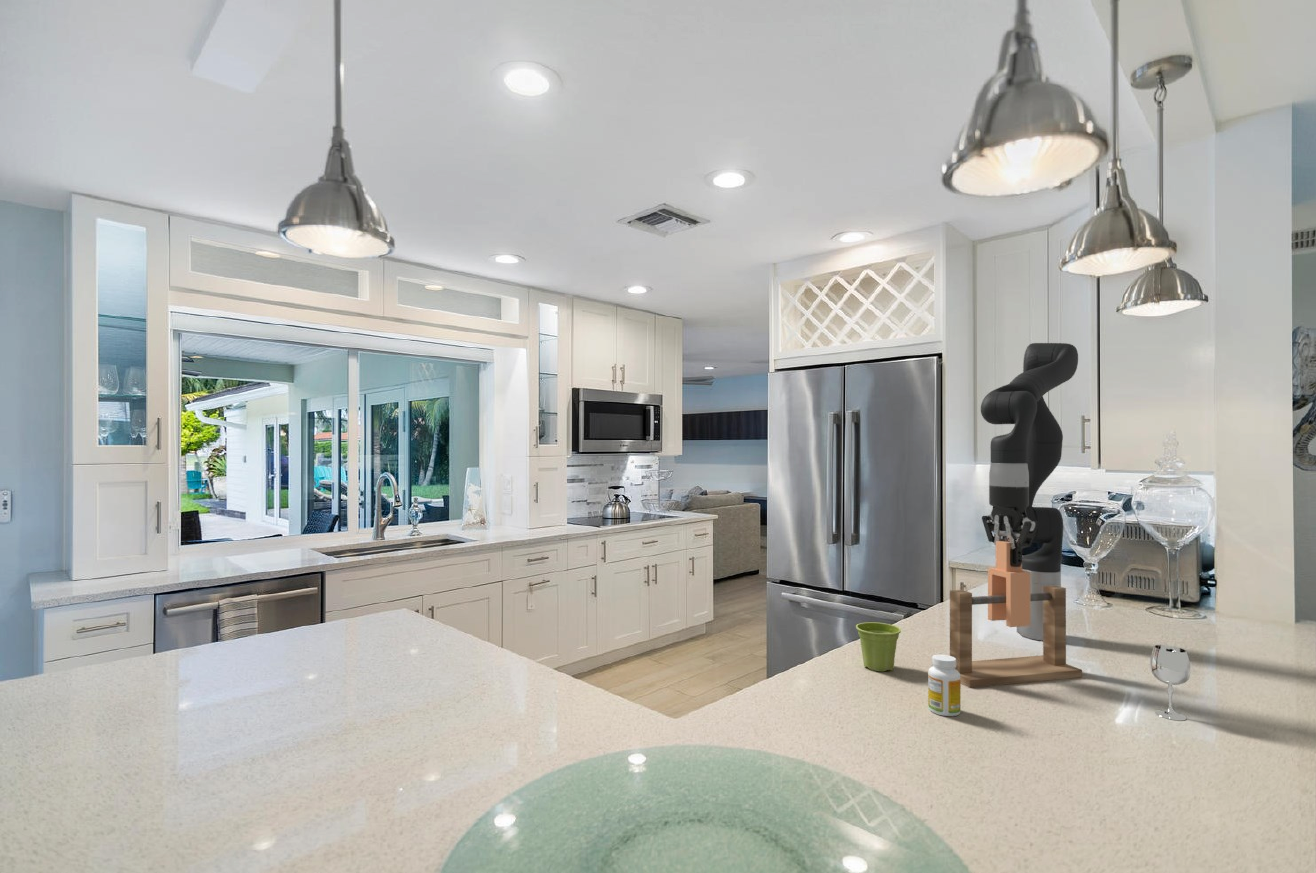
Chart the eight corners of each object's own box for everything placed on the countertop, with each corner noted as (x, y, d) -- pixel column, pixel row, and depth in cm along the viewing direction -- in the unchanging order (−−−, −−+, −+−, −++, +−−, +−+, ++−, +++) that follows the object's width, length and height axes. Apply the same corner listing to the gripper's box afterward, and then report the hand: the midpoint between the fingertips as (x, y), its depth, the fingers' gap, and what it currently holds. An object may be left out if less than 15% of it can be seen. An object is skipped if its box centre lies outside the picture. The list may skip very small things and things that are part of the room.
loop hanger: (987, 619, 142) (987, 540, 142) (1007, 618, 143) (1007, 539, 143) (1010, 627, 136) (1010, 544, 136) (1030, 625, 137) (1030, 543, 137)
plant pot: (853, 671, 140) (853, 630, 140) (857, 658, 149) (857, 620, 149) (900, 677, 137) (900, 635, 137) (901, 663, 145) (901, 624, 145)
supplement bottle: (958, 707, 121) (958, 654, 121) (962, 718, 115) (962, 663, 116) (927, 703, 122) (927, 651, 123) (929, 714, 117) (929, 660, 117)
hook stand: (936, 671, 141) (936, 587, 141) (1043, 661, 148) (1043, 582, 148) (969, 687, 131) (969, 597, 131) (1082, 676, 138) (1081, 591, 138)
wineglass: (1185, 712, 119) (1184, 646, 120) (1195, 724, 114) (1195, 655, 114) (1146, 706, 122) (1146, 642, 122) (1155, 718, 117) (1154, 650, 117)
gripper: (1050, 486, 134) (1050, 570, 134) (998, 482, 148) (998, 559, 147) (1020, 486, 132) (1020, 571, 132) (970, 482, 146) (970, 560, 146)
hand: (1008, 564), depth 140 cm, fingers closed on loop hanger, 3 cm apart
